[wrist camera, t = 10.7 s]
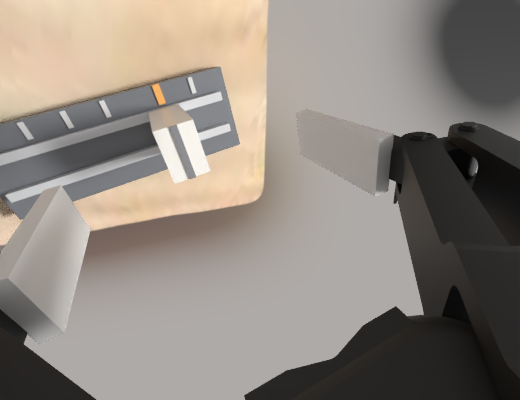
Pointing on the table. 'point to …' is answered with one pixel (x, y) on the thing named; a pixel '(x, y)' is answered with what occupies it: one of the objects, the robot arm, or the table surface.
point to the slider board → (107, 139)
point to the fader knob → (178, 143)
